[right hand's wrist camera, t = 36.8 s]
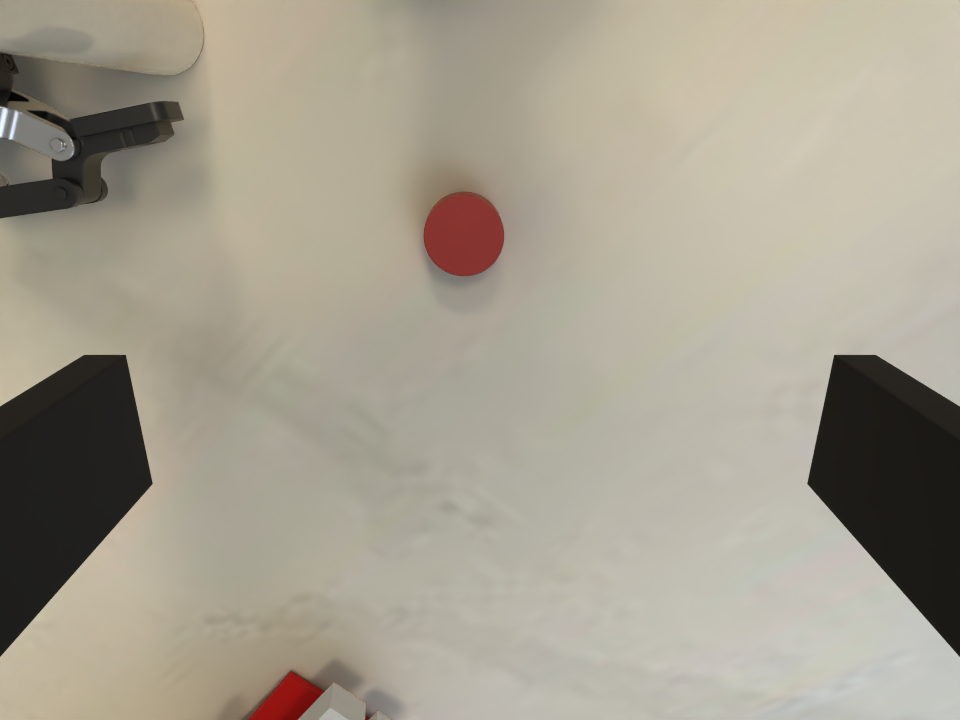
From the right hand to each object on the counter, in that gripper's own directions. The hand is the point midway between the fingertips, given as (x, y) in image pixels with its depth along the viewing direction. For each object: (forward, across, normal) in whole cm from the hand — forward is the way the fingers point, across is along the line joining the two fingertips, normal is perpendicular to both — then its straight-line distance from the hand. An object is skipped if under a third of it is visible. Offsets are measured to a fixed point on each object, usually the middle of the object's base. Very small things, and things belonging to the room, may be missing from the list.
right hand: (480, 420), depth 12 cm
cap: (+22, +1, 0) cm, 22 cm away
